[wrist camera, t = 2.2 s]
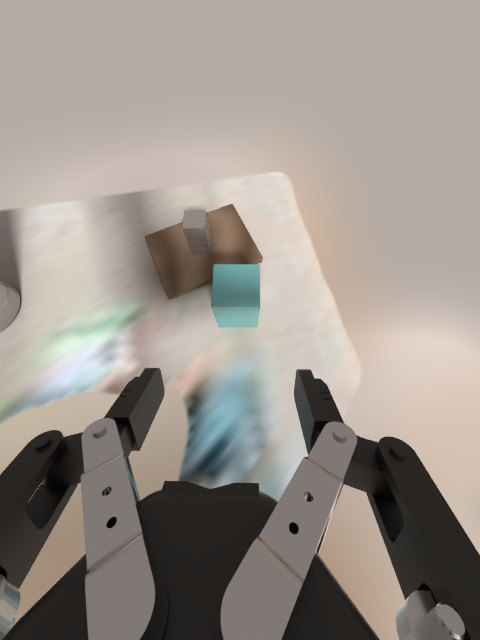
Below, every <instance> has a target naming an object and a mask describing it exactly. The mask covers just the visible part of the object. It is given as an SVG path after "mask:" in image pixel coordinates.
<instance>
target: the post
mask: <svg viewBox="0 0 480 640" xmlns="http://www.w3.org/2000/svg"><path fill="white" fill-rule="evenodd" d="M182 229H183V231H184V234H185V237H186V239H187V242H188V245H189V247H190V250H191V253H192V255H211V244H212V237H211V233H210V228H209V223H208V219H207V214H206V211H184V219H183V227H182Z"/></svg>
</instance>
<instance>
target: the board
mask: <svg viewBox="0 0 480 640" xmlns="http://www.w3.org/2000/svg"><path fill="white" fill-rule="evenodd" d="M207 219H208V223H209V228H210V233H211V237H212V244H211V255H192V253H191V250H190V247H189V245H188V242H187V239H186V237H185V234H184V231H183V229H182V227H183V222H182V223H180V224H177V225H174V226H171V227H169V228H166V229H163V230H161V231H158V232H155V233H152V234H150V235H147V236H144V237H145V239H146V242H147V245H148V247H149V250H150V253H151V255H152V258H153V260H154V263H155V266H156V268H157V271H158V274H159V276H160V279H161V282H162V284H163V287H164V290H165V292H166V295H167V297H168V298H169V299H172V298H174V297H177V296H179V295H182V294H184V293H187V292H189V291H192V290H194V289H196V288H199V287H201V286H204V285H206V284H209V283H211V282H213V269H214V264H258V263H260V262H262V259H263V257H262V255H261V254H260V252H259V250H258V248H257V246H256V245H255V243H254V241H253V239H252V238H251V236H250V234H249V232H248V231H247V229H246V227H245V225H244V224H243V222H242V220H241V218H240V216H239V215H238V213H237V211H236V209H235V208H234V206H233V204H231V205H228V206H226V207H223V208H220V209H218V210H215V211H212V212H209V213H207Z"/></svg>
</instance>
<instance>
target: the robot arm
mask: <svg viewBox="0 0 480 640" xmlns="http://www.w3.org/2000/svg"><path fill="white" fill-rule="evenodd" d="M19 307H20V296H19V293H18V292H17V290H16V289H15V288H14V287H13V286H11V285H9V284H7V283H4V282H2V281H0V332H1V331H2V330H4V329H5V328H6V327H7V326H8V325H9V324H10V323H11V322H12V321H13V320H14V318H15V317H16V315H17V313H18V310H19ZM163 397H164V385H163V380H162V375H161V371H160V369H159V368H145V369H144V371H143V372H142V374H141V375H140V377H135V378H134V379H132V380H131V381H130V382H129V383H128V384H127V385H126V387H125V388H124V390H123V391H122V392H121V394H120V395H119V397H118V398H117V400H116V401H115V403H114V404H113V406H112V407H111V408H110V410H109V411H108V413H107V414H106V416H105V417H104V418H103V419H100V420H97V421H95V422H93V423H92V424H90V425H89V426H88V427H87V428H86V429H85V430H84V432H82V433H78V434H75V435H70V436H67V437H64V436H63V435H62V433H61V432H60V431H57V430H52V431H48V432H45V433H42V434H40V435H38V436H37V437H35V438H34V439H33V440H31V441H30V442H29V443H28V444H27V445H26V446H25V447H24V449H23V450H22V451H21V452H20V453H19V454H18V455H17V457H16V458H15V459H14V460H13V461H12V462H11V463H10V464H9V466H8V467H7V468H6V469H5V470H4V471H3V473H2V474H1V475H0V640H379V638H378V637H377V635H376V634H375V632H374V631H373V630H372V628H371V627H370V625H369V624H368V623H367V621H366V620H365V619H364V617H363V616H362V614H361V613H360V612H359V610H358V609H357V608H356V606H355V605H354V604H353V602H352V601H351V600H350V598H349V597H348V595H347V594H346V593H345V591H344V590H343V588H342V587H341V586H340V584H339V583H338V582H337V580H336V579H335V577H334V576H333V575H332V573H331V572H330V570H329V569H328V568H327V566H326V565H325V564H324V562H323V561H322V559H321V558H320V557H319V555H318V554H319V552H320V549H321V546H322V543H323V541H324V538H325V535H326V532H327V529H328V526H329V523H330V520H331V518H332V515H333V512H334V510H335V507H336V504H337V501H338V499H339V496H340V493H341V490H342V488H343V485H344V484H345V485H348V486H351V487H353V488H356V489H359V490H362V491H365V492H366V493H367V496H368V499H369V501H370V504H371V507H372V510H373V512H374V515H375V518H376V521H377V523H378V526H379V529H380V532H381V534H382V537H383V540H384V543H385V545H386V548H387V551H388V554H389V556H390V559H391V562H392V565H393V567H394V570H395V573H396V576H397V579H398V581H399V584H400V587H401V590H402V592H403V595H404V598H405V602H404V603H403V604H402V605H401V606H400V608H399V609H398V612H397V617H396V625H397V631H398V636H399V640H480V555H479V554H478V552H477V550H476V549H475V547H474V545H473V544H472V542H471V541H470V539H469V538H468V536H467V534H466V533H465V531H464V529H463V528H462V526H461V525H460V523H459V521H458V520H457V518H456V517H455V515H454V513H453V512H452V510H451V509H450V507H449V505H448V504H447V502H446V501H445V499H444V497H443V496H442V494H441V493H440V491H439V490H438V488H437V486H436V485H435V483H434V482H433V480H432V479H431V477H430V475H429V473H428V472H427V470H426V469H425V467H424V466H423V464H422V462H421V461H420V459H419V457H418V456H417V454H416V453H415V451H414V450H413V449H412V448H411V447H410V446H409V445H407V444H406V443H405V442H403V441H402V440H400V439H397V438H394V437H383V438H381V439H380V441H379V443H378V442H374V441H371V440H367V439H364V438H361V437H359V436H357V435H356V434H355V433H354V431H353V430H352V429H351V428H350V427H348V426H347V425H345V424H344V422H343V420H342V417H341V415H340V413H339V411H338V409H337V406H336V404H335V402H334V400H333V397H332V395H331V394H330V391H329V389H328V386H327V385H326V384H325V383H324V382H323V381H322V380H321V379H314V377H313V374H312V372H311V370H306V369H297V371H296V379H295V387H294V398H295V403H296V407H297V411H298V415H299V419H300V423H301V428H302V432H303V436H304V440H305V444H306V448H307V452H308V457H304V458H303V460H302V461H301V463H300V465H299V467H298V468H297V470H296V472H295V474H294V475H293V477H292V479H291V481H290V482H289V484H288V486H287V488H286V490H285V491H284V493H283V495H282V497H281V498H280V500H279V502H277V501H276V500H275V499H273V498H272V497H270V496H269V495H267V494H265V493H262V492H259V483H233V484H229V485H225V486H221V487H217V488H214V489H208V488H205V487H202V486H199V485H196V484H193V483H190V482H183V481H165V482H164V485H163V488H162V490H159V491H156V492H154V493H152V494H150V495H148V496H146V497H145V498H143V499H142V500H140V497H139V494H138V491H137V487H136V483H135V480H134V476H133V473H132V469H131V465H130V462H129V458H128V456H129V454H130V452H131V451H140V449H141V446H142V444H143V442H144V440H145V438H146V435H147V433H148V431H149V428H150V426H151V424H152V422H153V420H154V418H155V415H156V413H157V411H158V409H159V406H160V404H161V402H162V400H163ZM41 482H42V483H41ZM80 482H81V490H82V504H83V517H84V532H85V545H86V554H85V555H84V556H83V557H82V558H81V559H80V560H79V561H78V562H77V563H76V564H75V565H74V566H73V567H72V568H71V569H70V570H69V571H68V572H67V573H66V574H65V575H64V576H63V577H62V578H61V579H60V580H59V581H58V582H57V583H56V584H55V585H54V586H53V587H52V588H51V589H50V590H49V591H48V592H47V593H46V594H45V595H44V596H43V597H42V598H41V599H40V600H39V601H38V602H37V603H36V604H35V605H34V606H33V607H32V608H31V609H30V610H29V611H28V612H27V613H25V615H23V617H21V618H20V619H19V621H18V622H17V623H16V624H15V625H14V626H13V624H14V621H15V615H16V612H17V610H18V607H19V603H20V592H19V588H20V586H21V584H22V582H23V581H24V579H25V577H26V575H27V574H28V572H29V570H30V568H31V566H32V565H33V563H34V561H35V559H36V558H37V556H38V554H39V552H40V550H41V549H42V547H43V545H44V543H45V542H46V540H47V538H48V536H49V535H50V533H51V531H52V529H53V528H54V526H55V524H56V522H57V521H58V519H59V517H60V515H61V513H62V512H63V510H64V508H65V506H66V505H67V503H68V501H69V499H70V497H71V496H72V494H73V492H74V490H75V488H76V487H77V485H78V483H80ZM40 484H41V485H40ZM39 485H40V486H39ZM38 487H39V488H38ZM37 488H38V489H37ZM36 490H37V491H36ZM35 491H36V492H35ZM34 492H35V494H34ZM33 494H34V495H33ZM32 495H33V496H32ZM31 497H32V498H31ZM30 498H31V499H30ZM29 500H30V501H29ZM28 501H29V502H28Z"/></svg>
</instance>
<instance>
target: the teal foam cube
mask: <svg viewBox="0 0 480 640" xmlns="http://www.w3.org/2000/svg"><path fill="white" fill-rule="evenodd" d="M211 307H212V310H213V313H214V315H215V318H216V321H217V323H218V326H219V327H257V323H258V317H259V311H260V271H259V264H214V269H213V286H212V303H211Z"/></svg>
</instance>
